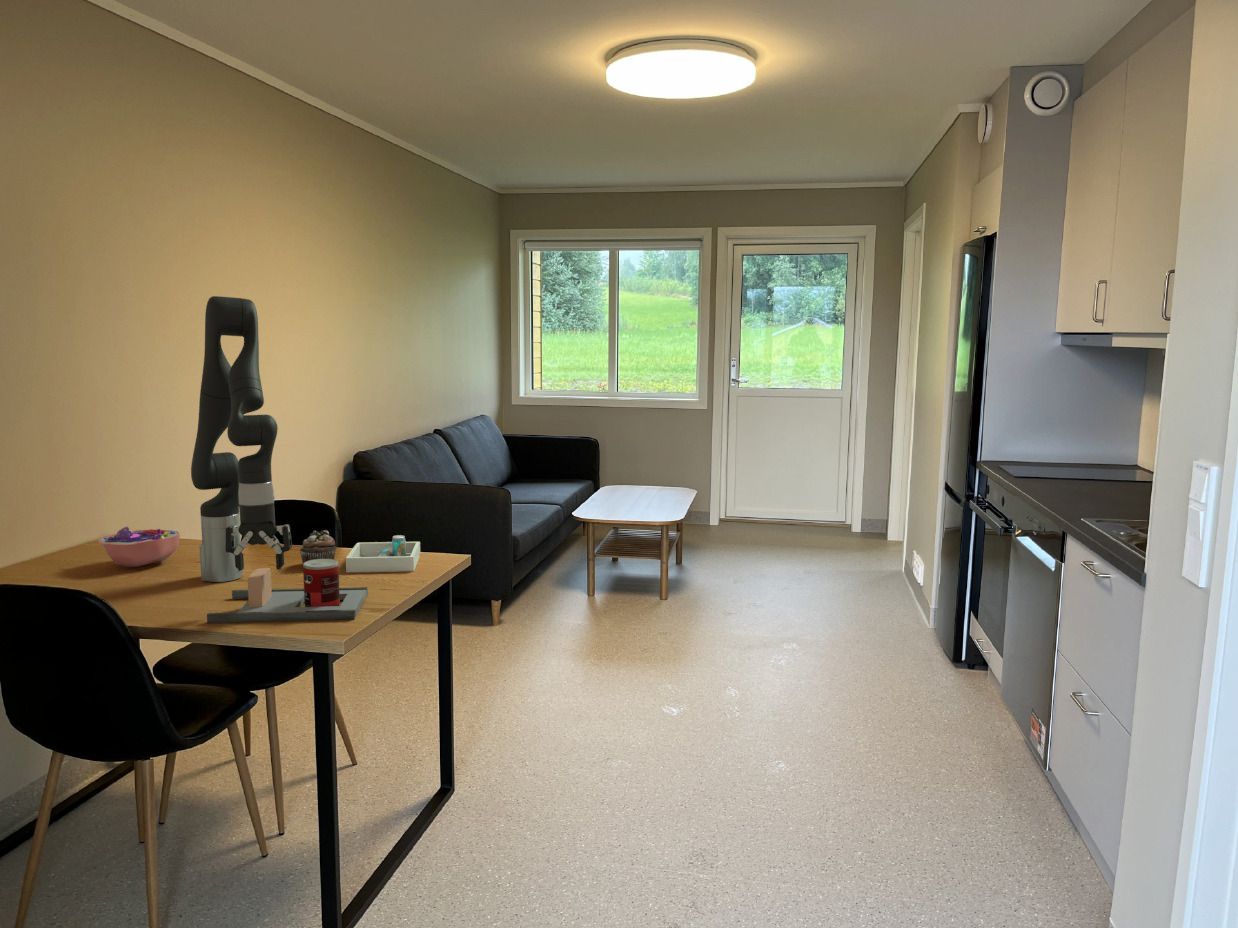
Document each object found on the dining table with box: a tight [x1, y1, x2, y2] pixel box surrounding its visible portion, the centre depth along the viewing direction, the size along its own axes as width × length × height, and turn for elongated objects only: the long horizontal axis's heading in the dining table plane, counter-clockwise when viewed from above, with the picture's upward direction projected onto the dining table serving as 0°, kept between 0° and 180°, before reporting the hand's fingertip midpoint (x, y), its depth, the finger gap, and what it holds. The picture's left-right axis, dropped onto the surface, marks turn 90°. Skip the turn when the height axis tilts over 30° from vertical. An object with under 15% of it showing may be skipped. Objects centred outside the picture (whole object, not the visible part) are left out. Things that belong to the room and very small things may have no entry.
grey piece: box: [237, 567, 368, 617], centre depth 207 cm, size 26×16×8 cm, turn 97°
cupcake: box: [299, 529, 337, 565], centre depth 244 cm, size 10×10×10 cm
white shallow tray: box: [345, 541, 421, 573], centre depth 248 cm, size 18×18×4 cm
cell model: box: [98, 526, 181, 568], centre depth 242 cm, size 17×20×11 cm
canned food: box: [302, 559, 341, 607], centre depth 207 cm, size 8×8×11 cm
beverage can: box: [377, 534, 407, 557], centre depth 248 cm, size 12×12×8 cm
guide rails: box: [206, 586, 369, 624], centre depth 207 cm, size 32×19×2 cm, turn 97°
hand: (260, 569), depth 205 cm, fingers open, 8 cm apart
